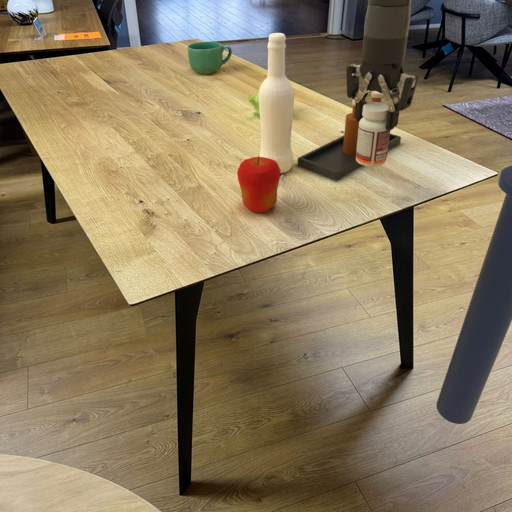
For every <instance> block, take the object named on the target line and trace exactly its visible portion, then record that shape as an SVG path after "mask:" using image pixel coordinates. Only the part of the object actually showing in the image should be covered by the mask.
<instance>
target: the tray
mask: <svg viewBox="0 0 512 512" xmlns="http://www.w3.org/2000/svg"><path fill="white" fill-rule="evenodd" d="M401 140H402V136H401V135H397V134H393V133H390V137H389V144H388V151H387V152H389V151H390V150H391V151H392V149H394V148H396V147H398V146H399V145H401ZM343 142H344V134H343V135H341V136H339V137H338V138H335V139H333V140H331V141H330V142H327V143H325V144H323V145H321V146H319V147H316V148H314V149H313V150H311V151H309V152H307V153H305V154H302V155H301V156H299V157H297V167H299V168H303V169H305V170H308V171H310V172H311V173H315V174H317V175H321V176H322V177H326V178H328V179H330V180H333V181H338V180H340V179H342V178H343V177H345V176H347V175H348V174H350V173H352V172H355V170H358V169H359V168H361V167H363V166H364V165H361V164H359V163H358V162H357V161H356V155H348V154H345V153H344V152H343Z"/></svg>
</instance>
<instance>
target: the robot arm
mask: <svg viewBox="0 0 512 512" xmlns="http://www.w3.org/2000/svg"><path fill="white" fill-rule="evenodd" d="M367 2H368V3H367V9H366V13H365V17H364V18H365V19H364V26H363V36H362V47H361V48H362V49H361V60H362V62H361V64H359V63H357V62H356V63H355V62H354V63H352V64H349V65H347V66H346V96H347V98H348V99H352V100H353V99H354V101H355V103H356V104H355V115H354V116H355V118H356V122H360V120H361V119H362V118H363V116H362V112H363V106H364V105H365V104H367V103H368V101H366V100H367V98H368V96H369V95H370V94H371V93H372V91H377V92H379V93H382V94H383V99H384V101H386V104H388V107H389V111H388V115H387V122H386V130H388V131H390V132H391V131H392V130H394V129H395V128H396V127H397V126H398V123H399V117H400V112H403V111H404V110H406V109H408V108H410V107H411V105H412V102H413V99H414V95H415V91H416V87H417V84H418V81H419V76H418V74H413V75H410V74H408V73H405V71H404V67H403V65H404V62H405V57H406V51H407V44H408V39H409V38H408V37H409V30H410V24H411V7H412V0H368V1H367ZM360 75H361V78H362V79H363V80H362V82H361V84H360ZM399 82H401V84H400V85H401V87H402V90H401V91H400V87H399Z"/></svg>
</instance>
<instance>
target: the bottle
mask: <svg viewBox="0 0 512 512" xmlns="http://www.w3.org/2000/svg"><path fill="white" fill-rule="evenodd" d="M286 37H287V36H286V34H284V33H282V32H273V33H270V34H269V36H268V43H267V76H266V77H265V78H264V80H263V81H262V83H261V84H260V87H259V88H260V89H259V88H258V89H259V95H258V97H259V112H260V115H259V123H260V136H261V146H260V151H259V153H258V156H259V157H264V158H269V159H272V160H275V161H276V162H277V164H278V166H279V168H280V175H281V174H285V173H287V172H289V171H290V170H291V169H292V167H293V163H294V154H293V150H292V144H291V143H292V129H293V120H294V119H293V118H294V106H295V89H294V87H293V84H292V83H291V81H290V80H289V79H288V77H287V76H286V48H287V44H286V40H287V38H286Z"/></svg>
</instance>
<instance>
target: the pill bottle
mask: <svg viewBox="0 0 512 512" xmlns="http://www.w3.org/2000/svg"><path fill="white" fill-rule="evenodd" d="M388 111H389V107H388V104H387V103H385V102H381V103H380V102H371V101H370V102H367V104H365V105H364V106H363V112H362V116H363V118H362V119H361V120H360V122H359V129H358V140H357V150H356V161H357V162H358V163H359V164H361V165H363V166H365V167H370V168H375V167H381V166H382V165H384V164H385V163H386V162H387V157H388V152H389V151H388V144H389V137H390V134H391V130H390V131H388V130H386V122H387V115H388Z"/></svg>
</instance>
